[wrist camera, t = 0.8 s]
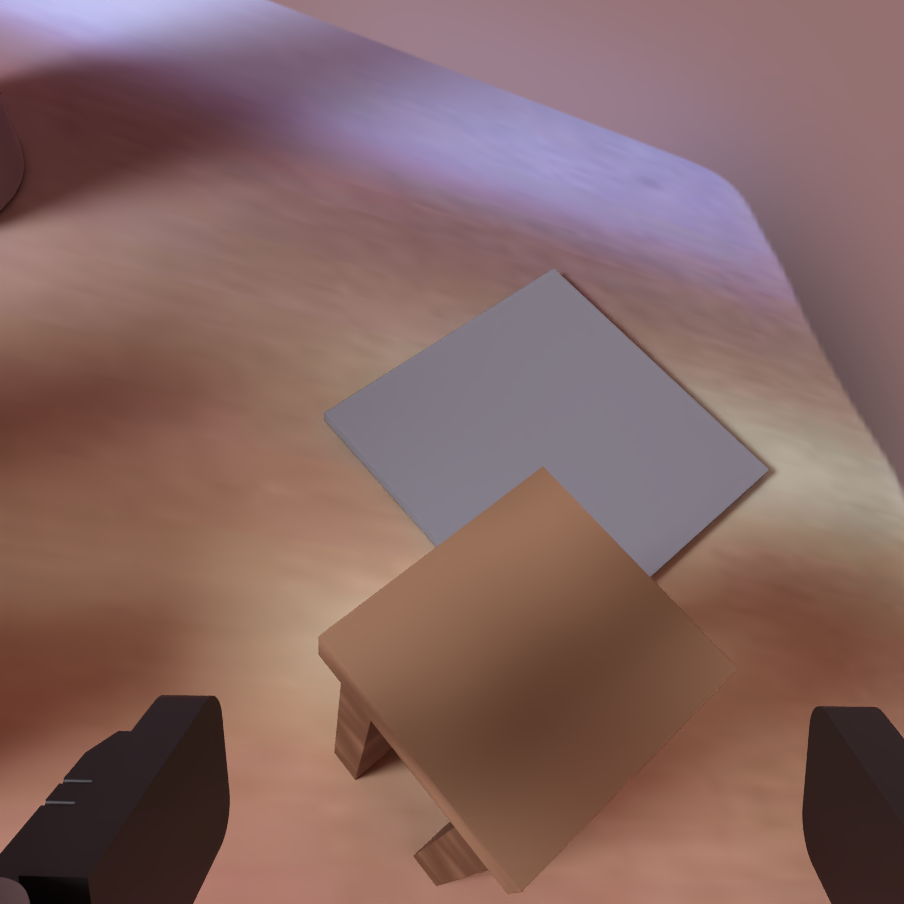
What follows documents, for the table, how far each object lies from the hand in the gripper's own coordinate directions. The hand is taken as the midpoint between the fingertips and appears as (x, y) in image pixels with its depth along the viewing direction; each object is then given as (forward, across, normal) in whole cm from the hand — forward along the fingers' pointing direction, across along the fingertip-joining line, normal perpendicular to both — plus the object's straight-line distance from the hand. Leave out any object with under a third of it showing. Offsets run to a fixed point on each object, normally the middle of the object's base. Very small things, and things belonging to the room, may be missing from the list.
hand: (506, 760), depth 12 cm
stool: (+17, +2, +11) cm, 20 cm away
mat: (+26, -2, +2) cm, 27 cm away
